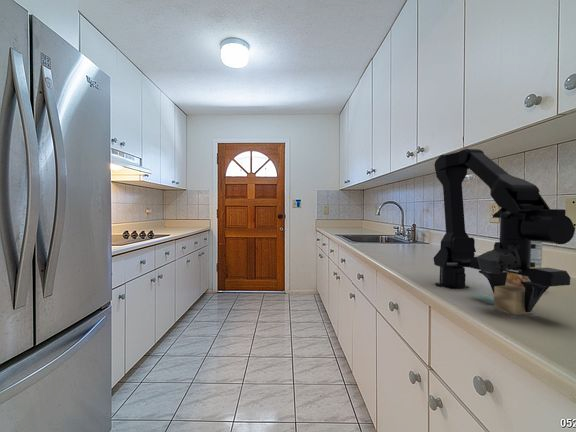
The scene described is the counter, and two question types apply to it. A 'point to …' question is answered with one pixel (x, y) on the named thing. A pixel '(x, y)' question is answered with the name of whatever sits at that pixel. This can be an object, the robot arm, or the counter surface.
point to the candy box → (536, 258)
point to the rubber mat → (486, 298)
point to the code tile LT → (515, 315)
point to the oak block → (510, 299)
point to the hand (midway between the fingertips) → (512, 306)
